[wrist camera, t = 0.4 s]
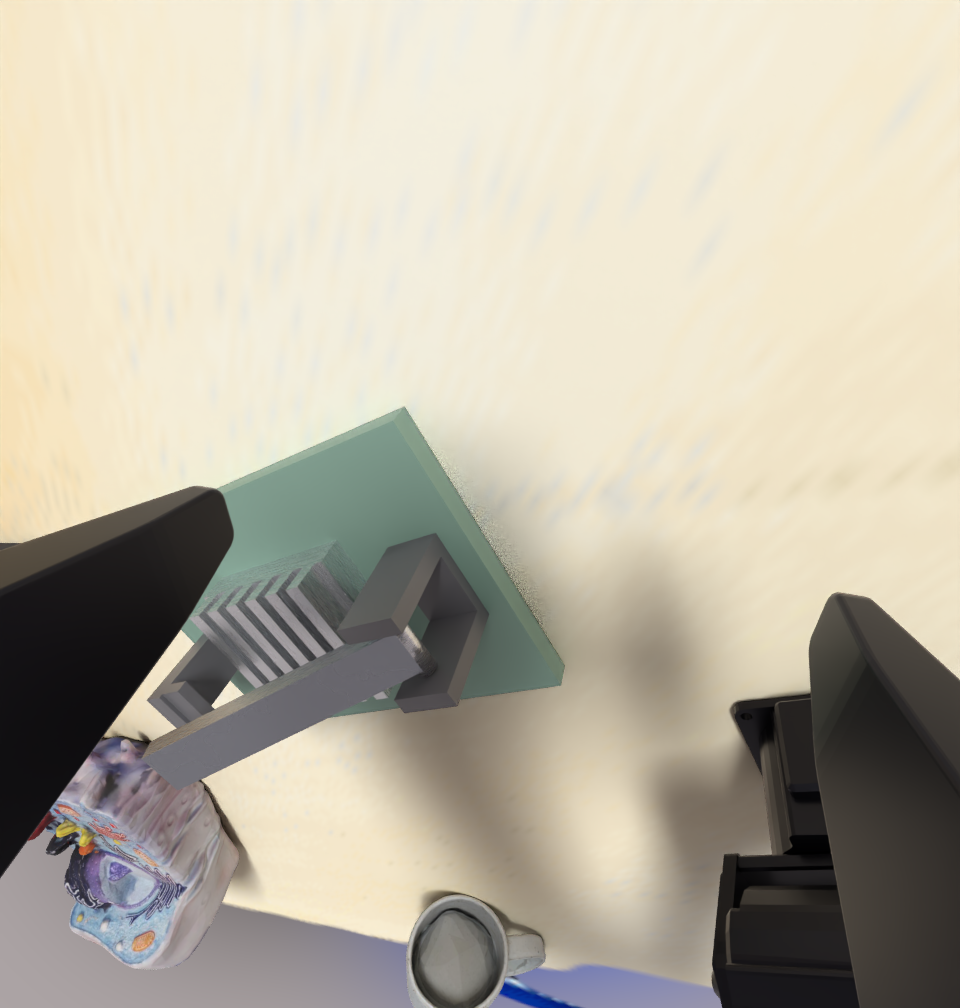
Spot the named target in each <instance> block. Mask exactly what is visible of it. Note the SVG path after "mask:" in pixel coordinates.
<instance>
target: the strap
mask: <svg viewBox="0 0 960 1008" xmlns="http://www.w3.org/2000/svg"><path fill="white" fill-rule="evenodd" d="M436 667H437V662H436V661H435V660H434V658H433V657H432V656H431V654H430V653H429V651H428V650H427V649H426V647H425V646H424V645H423V643H422V642H421V641H420V639H419V638H418V637H417V635H416V634H415V633H414V631H413V630H412V629H411V627H410V626H409V625H408V624H407V626H406V628H405V630H404V632H403V634H400V635H395V636H390V637H385V638H381V639H376V640H371V641H367V642H362V643H357V644H352V645H348V644H347V643H346V644H344V645H342V646H340V647H338V648H336V649H334V650H332V651H330V652H328V653H326V654H324V655H322V656H320V657H318V658H316V659H314V660H312V661H310V662H308V663H306V664H304V665H302V666H300V667H298V668H296V669H294V670H292V671H290V672H288V673H286V674H284V675H282V676H280V677H278V678H276V679H274V680H272V681H270V682H268V683H266V684H264V685H262V686H260V687H258V688H256V689H254V690H252V691H250V692H248V693H246V694H244V695H242V696H240V697H238V698H236V699H235V700H233V701H231V702H229V703H227V704H225V705H223V706H221V707H219V708H217V709H215V710H213V711H211V712H209V713H207V714H205V715H203V716H201V717H199V718H197V719H195V720H193V721H191V722H189V723H187V724H185V725H183V726H181V727H179V728H177V729H175V730H173V731H171V732H169V733H167V734H165V735H163V736H161V737H159V738H157V739H155V740H153V741H151V742H150V744H149V746H148V747H147V749H146V751H145V753H144V755H143V757H142V760H143V761H144V762H145V763H147V764H148V765H149V766H150V767H151V768H152V769H153V770H155V771H156V772H157V773H158V774H159V775H160V776H162V777H163V778H164V779H165V780H166V781H167V782H168V783H170V784H171V785H172V786H173V787H174V788H175V789H176V790H180V789H182V788H185V787H187V786H189V785H191V784H193V783H195V782H197V781H199V780H201V779H203V778H205V777H207V776H209V775H211V774H213V773H215V772H217V771H220V770H222V769H224V768H226V767H228V766H230V765H232V764H234V763H236V762H238V761H240V760H242V759H244V758H246V757H248V756H250V755H253V754H255V753H257V752H259V751H261V750H263V749H265V748H267V747H269V746H271V745H273V744H275V743H277V742H279V741H281V740H283V739H285V738H288V737H290V736H292V735H294V734H296V733H298V732H300V731H302V730H304V729H306V728H308V727H310V726H312V725H314V724H316V723H318V722H320V721H323V720H325V719H327V718H329V717H331V716H333V715H335V714H337V713H339V712H341V711H343V710H345V709H347V708H349V707H351V706H353V705H356V704H358V703H360V702H362V701H364V700H366V699H368V698H370V697H372V696H374V695H376V694H378V693H380V692H382V691H384V690H386V689H388V688H391V687H393V686H395V685H397V684H399V683H401V682H403V681H405V680H407V679H409V678H411V677H413V676H415V675H418V676H419V677H420V678H425V677H427V676H429V675H431V674H432V673H433V672H434V671H435V669H436Z"/></svg>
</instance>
